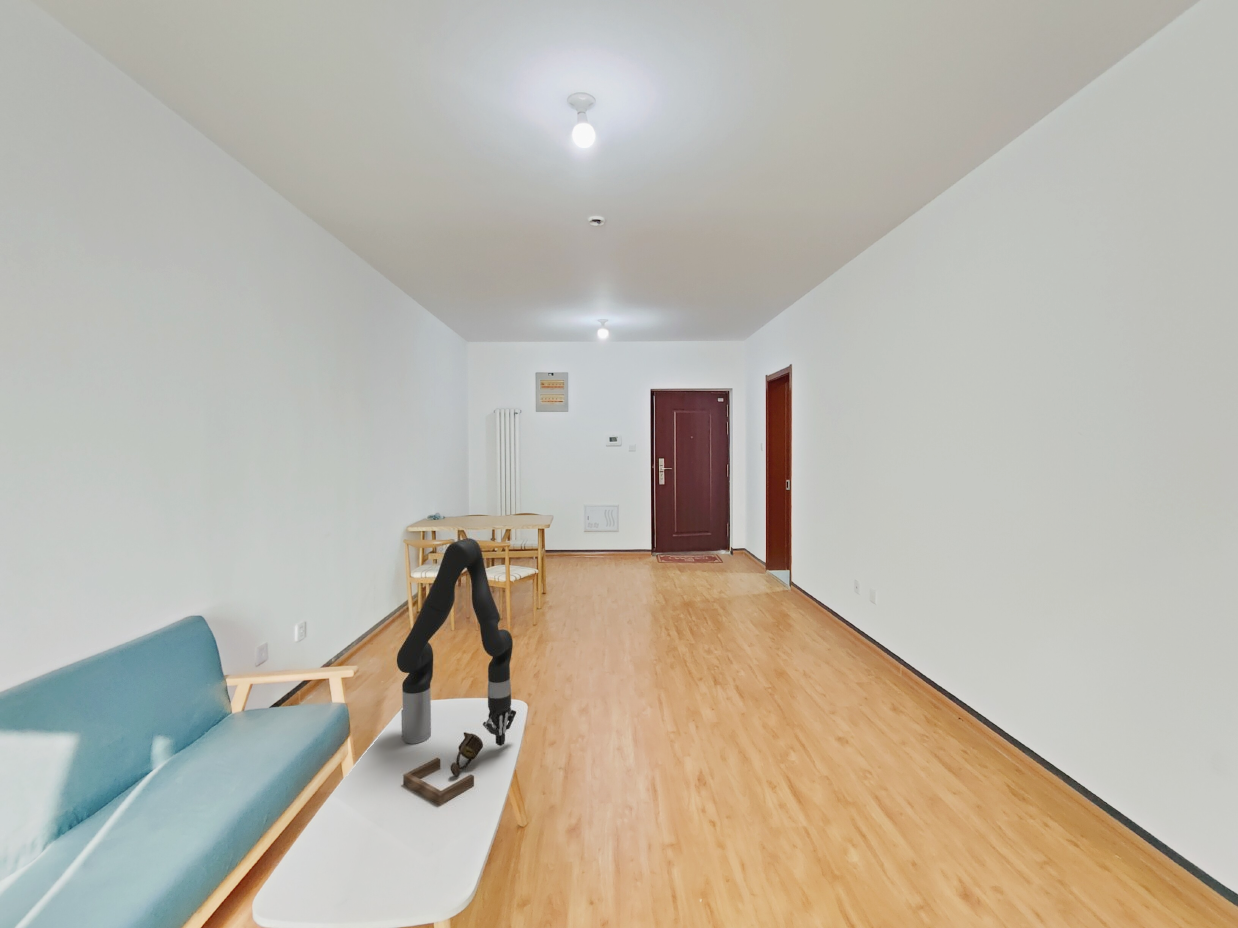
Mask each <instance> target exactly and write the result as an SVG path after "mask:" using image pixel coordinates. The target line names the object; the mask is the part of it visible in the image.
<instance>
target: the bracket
mask: <svg viewBox="0 0 1238 928" xmlns="http://www.w3.org/2000/svg"><path fill="white" fill-rule="evenodd" d="M438 770H441V759H440V757H436V758H433V759H431V760H429V761H427V762H425V763H424V764H422V765H420V766H418V767H415V768H413V769H412V770H410V771H407V772H406V773H404V774H403V775H402V779H403V780H402V781H403V786H404V787H407V788H408V789H410V790H412V791H414V792H415V793H417V794H419V795H421V796H422V797H424V798H425V799H428V800H429V801H431V802H432V803H434V804H436V805H438V806H442V805H443V804H445V803H448V802H449V801H450V800H452V799H454V798H456V797H458V796H459V795H461V794H462V793H464V792H467V791H468V790H469V789H471V788H472V787H474V786H475V776H474V775H473V774H468V775H467V776H465V777H463V778H462V779H460V780H458V781H455V782H454V783H452V784H450V785H449V786H447V787H446V788H443V789H442V790H440V789H438V788H437V787H435V786H433V785H431V784H429V783H428V782H425V781H423V780H422V779H423V778H425V777H427V776H429V775H431V774H433V773H435V772H436V771H438Z"/></svg>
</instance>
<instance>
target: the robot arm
mask: <svg viewBox="0 0 1238 928" xmlns="http://www.w3.org/2000/svg"><path fill="white" fill-rule="evenodd" d="M480 546H481V545H480V544H479V543H478V541H477V540H475V539H473V538H471V537H469V538H463V539H459V540H456V541H454V542H452V543H450V544H449V545H448V546H447V547H446V549H445V551H444V554H443V556H442V559H441V562H440V566H439V569H438V571H437V573H436V577H435V579H434V580H433V583H432V585H431V587H430V589H429V592H428V594H427V595H426V597H425V599H424V601H423V604H422V606H421V608H420V611H419V613H418V615H417V617H416V619H415V620H414V624H413V625H412V628H411V630H410V632H409V634H408V636H406V639H405V640H404V642H403V644H402V645H401V647H400V648H399V649H398V650H399V651H398V652H397V655H396V666H397V668H398V670H399V671H401V672H402V673H404V674H407V676H406V677H404V678H405V679H404V680H403V681H402V685H401V686H402V691H401V692H402V693H401V694H402V709H401V713H400V714H401V738H402V740H403V742H404V743H407V744H412V745H413V744H420V743H424V742H425V741H426V742H427V740H429V739H430V738H431V736H432V709H431V708H432V705H431V703H432V700H431V699H432V698H431V683H432V680H433V674H434V649H433V647H432V645H431V643H429V641H430V640H431V638H433V636H434V635H435V634H436V633H437V632H438V631H439V630H440V629H441V627H442V626H443V625H444V624H445V622H446V620H447V619H448V617H449V615H450V613H451V611H452V609H453V606H454V604H455V599H456V597H455V596H456V592H455V588H456V584H457V582H458V579H459V578H460V576H461V574H462V572H463V571H464V570H465V569H466V570H467V572H468V575H469V578H470V583H471V585H470V586H471V603H472V604H471V605H472V608H473V611H474V614H475V616H476V619H477V621H478V624H479V630H480V638H481V643H482V646H483V649H484V651H485V652H486V654H488V655H489V656H490V657H492V659H491V660H490V661H489V664H488V666H487V675H488V676H487V680H488V681H487V708H488V715H487V716H488V719H487V720H486V721H483V723H482V726H483V727H484V728H485V729H486V730H487V732H488V733H490V734H491V735H494V736H495V744H496V746H500V747H501V746H503V745H505V742H506V732H507V730H510V728H511V725H512V723H513V722H514V720H515V719H514V718H515V717H516V714H517V710H513V709H512V707H511V706H512V684H511V683H512V682H511V671H510V670H511V667H510V665H511V659H512V653H513V647H514V646H513V644H514V641H513V636H512V635H511V633H510V631H508V630H506V629H505V628H504V629H503V628H501V629H499V623H500V621H501V616H500V612H499V610H498V608H497V607H498V606H497V605H496V602H495V599H494V597H493V594H492V592H491V587H490V584H489V583H490V582H489V579H488V575H487V571H486V566H485V562H484V561H485V560H484V557H483V553H482V552H483V551H482V550H481V547H480Z"/></svg>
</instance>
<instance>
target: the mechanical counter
mask: <svg viewBox="0 0 1238 928" xmlns="http://www.w3.org/2000/svg"><path fill="white" fill-rule="evenodd" d="M463 736H464V738H463V739H462V741H461V743H459V745H458V753H457V755H456V762H455V761H453V762H452V763H451V764H450V771H451V774H452V775H453V776H455V777H458V776H459V775H460V774H461V771H462V770H464V769H467V767H468V766H469V764H470V763H471V761H473V760H475V759H476V758H477V757H478V755H479V753H480V752H481V750H482V749H483V747H484V743H483V740H482V739H481V738H480V737H479V735H477V734H474V733H470V732H469V733H468V732H465V731H464V732H463ZM461 756H462V757H463V758H465V759H466V760H467V761H466V762H465V764H464V765H463V766H461V765H460V759H461Z"/></svg>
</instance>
